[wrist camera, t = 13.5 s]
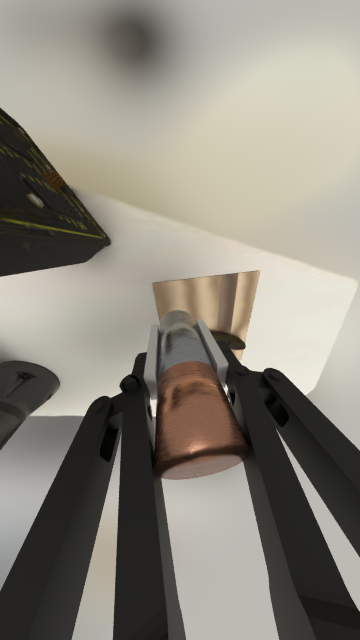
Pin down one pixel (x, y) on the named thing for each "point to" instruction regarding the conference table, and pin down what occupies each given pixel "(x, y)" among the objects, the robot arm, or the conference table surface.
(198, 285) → the plywood sheet
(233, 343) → the hand tool
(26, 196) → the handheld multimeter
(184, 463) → the copper and grey cylinder
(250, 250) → the conference table surface
